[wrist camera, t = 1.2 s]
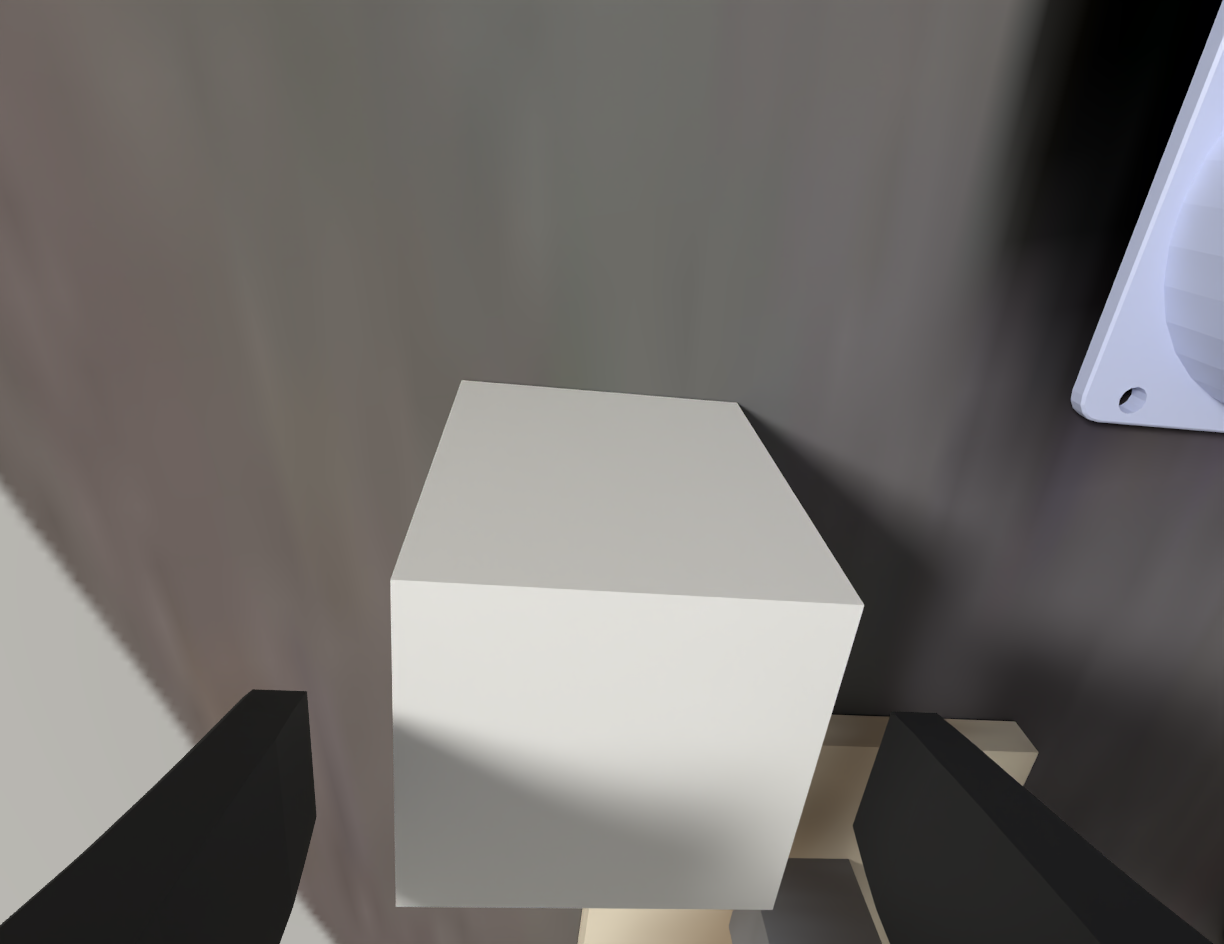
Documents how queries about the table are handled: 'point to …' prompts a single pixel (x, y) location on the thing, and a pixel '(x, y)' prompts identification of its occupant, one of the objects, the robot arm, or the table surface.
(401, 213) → the table surface
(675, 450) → the white rectangular block
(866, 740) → the beige square base
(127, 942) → the robot arm
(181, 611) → the table surface
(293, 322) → the table surface
